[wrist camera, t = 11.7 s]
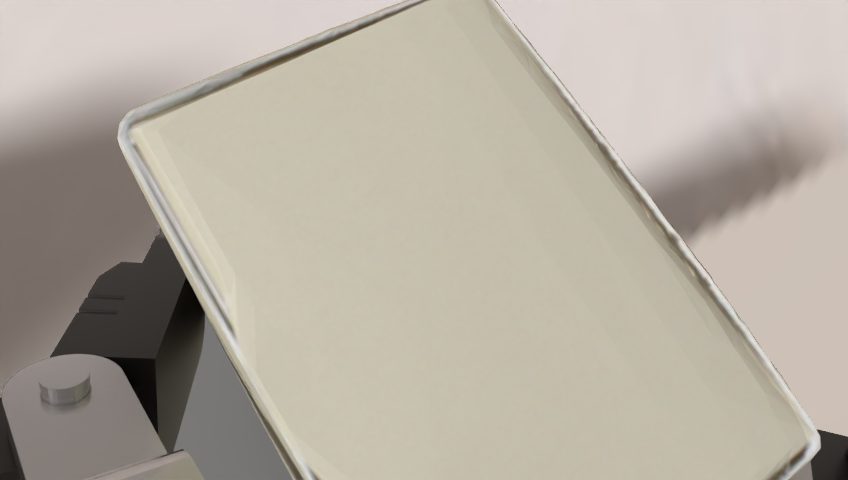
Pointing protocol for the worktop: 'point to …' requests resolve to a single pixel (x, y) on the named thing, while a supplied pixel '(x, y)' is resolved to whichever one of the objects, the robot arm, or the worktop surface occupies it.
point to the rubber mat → (225, 422)
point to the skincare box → (450, 267)
